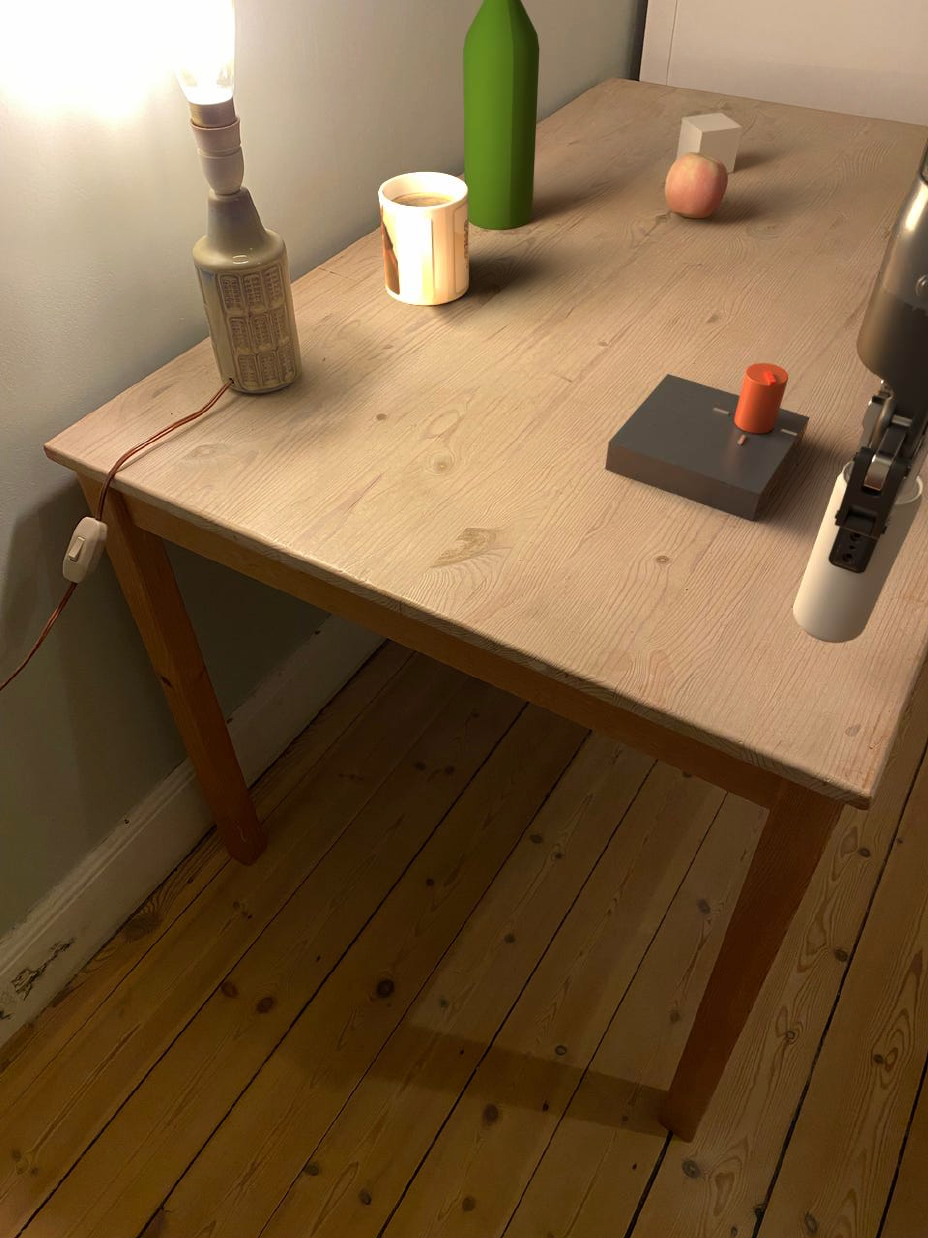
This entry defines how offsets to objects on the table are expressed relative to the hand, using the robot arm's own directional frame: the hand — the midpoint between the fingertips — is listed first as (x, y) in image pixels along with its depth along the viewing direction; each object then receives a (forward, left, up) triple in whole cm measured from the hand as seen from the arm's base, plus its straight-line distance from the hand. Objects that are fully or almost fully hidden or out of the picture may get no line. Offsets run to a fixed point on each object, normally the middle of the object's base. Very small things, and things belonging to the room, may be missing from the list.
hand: (859, 538), depth 56 cm
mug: (+56, -34, -14) cm, 67 cm away
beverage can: (0, 0, -8) cm, 8 cm away
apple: (+37, -68, -14) cm, 79 cm away
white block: (+42, -85, -14) cm, 96 cm away
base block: (+16, -21, -13) cm, 30 cm away
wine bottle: (+59, -56, -14) cm, 83 cm away
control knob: (+13, -24, -10) cm, 29 cm away
